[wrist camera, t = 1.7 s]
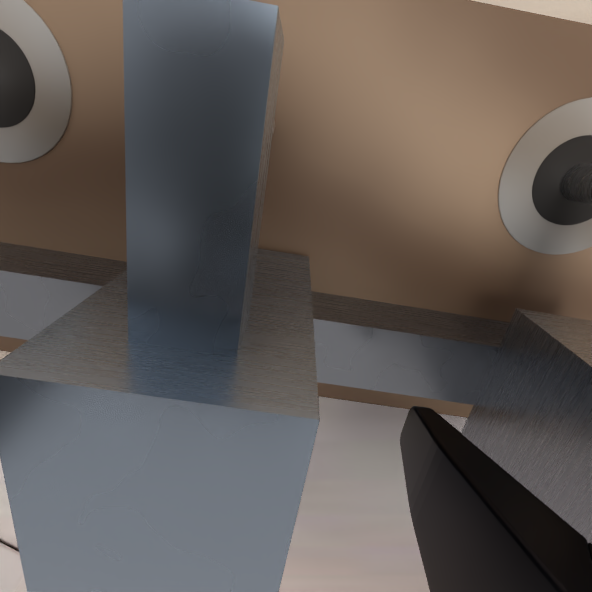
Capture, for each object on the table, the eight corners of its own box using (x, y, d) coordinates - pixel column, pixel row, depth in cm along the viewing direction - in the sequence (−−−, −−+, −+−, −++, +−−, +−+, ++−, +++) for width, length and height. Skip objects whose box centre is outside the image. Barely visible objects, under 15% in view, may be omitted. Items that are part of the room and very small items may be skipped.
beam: (544, 410, 13) (770, 660, 7) (-97, 316, 12) (-540, 509, 6) (677, 159, 10) (1357, 189, 4) (-185, -1, 9) (-1458, -375, 2)
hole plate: (579, 417, 15) (601, 439, 14) (-64, 323, 13) (-95, 339, 12) (778, 78, 10) (835, 71, 9) (-170, -111, 9) (-234, -146, 8)
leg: (286, 377, 13) (271, 623, 6) (170, 360, 12) (28, 596, 6) (338, 95, 9) (423, -15, 3) (181, 66, 9) (-115, -123, 3)
